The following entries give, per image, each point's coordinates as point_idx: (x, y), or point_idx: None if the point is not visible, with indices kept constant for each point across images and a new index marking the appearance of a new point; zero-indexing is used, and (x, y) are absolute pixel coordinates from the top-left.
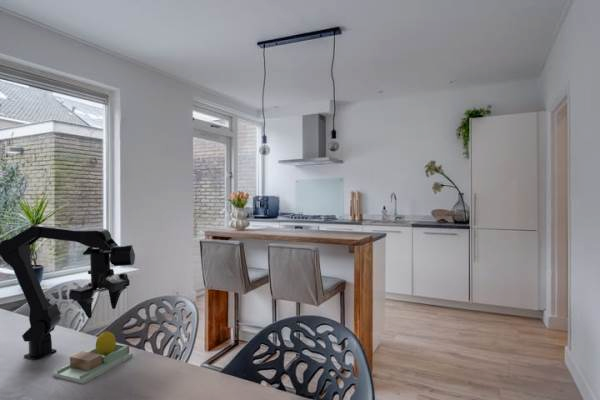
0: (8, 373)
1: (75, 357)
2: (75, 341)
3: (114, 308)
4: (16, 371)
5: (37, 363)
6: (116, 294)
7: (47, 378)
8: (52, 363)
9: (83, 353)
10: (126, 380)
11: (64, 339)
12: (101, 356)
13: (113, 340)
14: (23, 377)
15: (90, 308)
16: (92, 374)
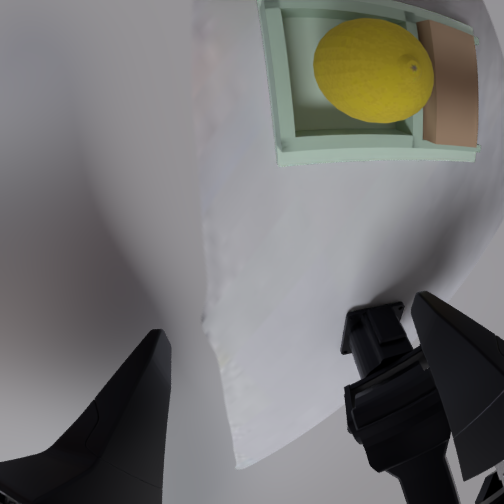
0: (458, 283)
1: (476, 119)
2: (268, 335)
3: (161, 330)
4: (451, 279)
5: (416, 281)
6: (106, 461)
7: (476, 164)
8: (412, 244)
9: (449, 116)
10: None
11: (272, 365)
12: (426, 21)
13: (363, 18)
14: (474, 232)
15: (483, 343)
16: (446, 19)
